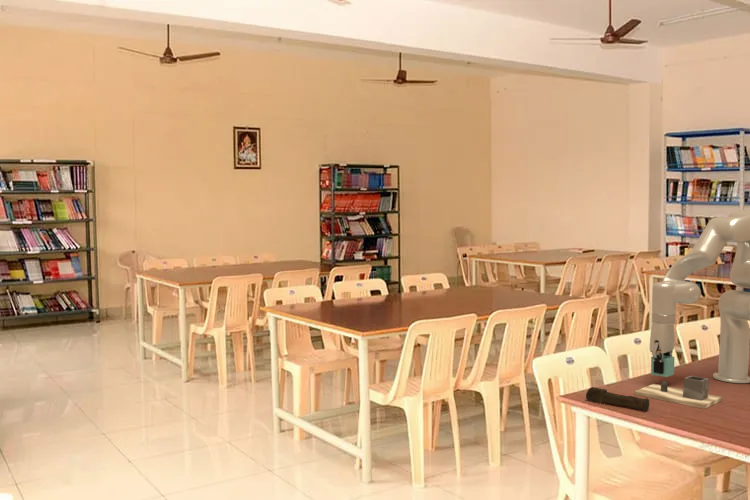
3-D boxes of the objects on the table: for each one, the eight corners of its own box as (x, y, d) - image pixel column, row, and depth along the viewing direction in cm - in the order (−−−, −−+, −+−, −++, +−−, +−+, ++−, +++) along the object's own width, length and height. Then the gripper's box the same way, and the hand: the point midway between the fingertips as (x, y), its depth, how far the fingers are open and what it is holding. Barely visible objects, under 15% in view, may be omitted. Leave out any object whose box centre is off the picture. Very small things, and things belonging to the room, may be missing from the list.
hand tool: (650, 410, 224) (651, 395, 224) (645, 413, 221) (646, 397, 221) (589, 399, 236) (590, 384, 236) (584, 401, 233) (585, 386, 233)
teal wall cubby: (657, 371, 259) (658, 354, 259) (674, 374, 255) (674, 356, 255) (650, 374, 255) (651, 357, 255) (667, 377, 251) (667, 359, 251)
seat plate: (653, 387, 252) (654, 366, 251) (721, 400, 236) (722, 378, 236) (634, 394, 242) (635, 372, 241) (704, 408, 226) (705, 385, 226)
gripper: (663, 314, 262) (662, 365, 264) (641, 320, 250) (640, 374, 252) (685, 316, 257) (683, 368, 259) (663, 323, 245) (662, 378, 246)
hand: (662, 370), depth 255 cm, fingers closed on teal wall cubby, 5 cm apart
